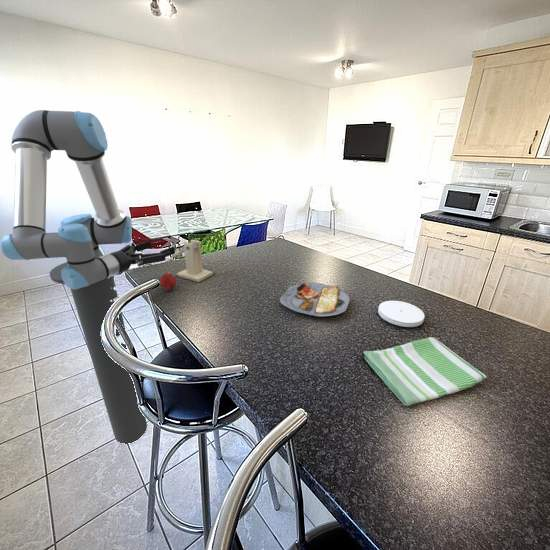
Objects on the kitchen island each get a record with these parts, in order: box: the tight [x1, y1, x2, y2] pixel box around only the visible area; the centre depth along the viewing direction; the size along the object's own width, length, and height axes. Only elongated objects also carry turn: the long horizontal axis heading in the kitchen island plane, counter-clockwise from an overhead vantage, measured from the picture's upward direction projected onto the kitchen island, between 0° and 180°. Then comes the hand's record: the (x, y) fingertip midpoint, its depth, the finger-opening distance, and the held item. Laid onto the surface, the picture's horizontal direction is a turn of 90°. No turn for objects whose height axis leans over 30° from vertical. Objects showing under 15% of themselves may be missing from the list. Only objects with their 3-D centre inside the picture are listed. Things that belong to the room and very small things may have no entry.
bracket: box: [176, 239, 214, 283], centre depth 121 cm, size 12×9×15 cm
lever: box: [172, 242, 197, 260], centre depth 122 cm, size 14×4×4 cm, turn 61°
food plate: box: [279, 282, 351, 317], centre depth 104 cm, size 25×23×4 cm
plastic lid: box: [377, 300, 425, 328], centre depth 96 cm, size 14×14×2 cm
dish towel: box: [362, 336, 487, 407], centre depth 73 cm, size 18×23×3 cm
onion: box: [159, 271, 177, 292], centre depth 109 cm, size 6×6×8 cm
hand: (162, 246), depth 118 cm, fingers open, 13 cm apart
